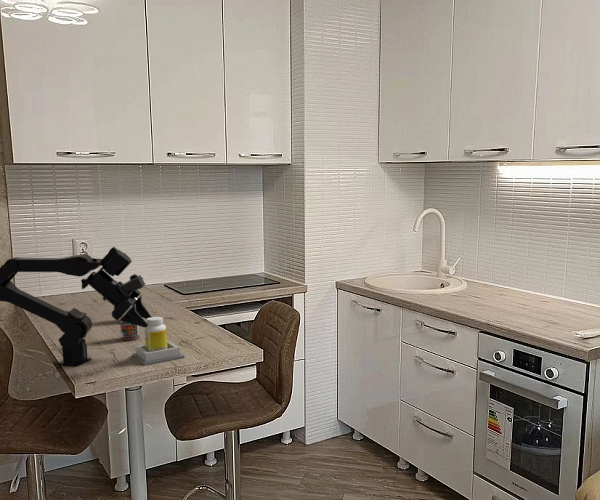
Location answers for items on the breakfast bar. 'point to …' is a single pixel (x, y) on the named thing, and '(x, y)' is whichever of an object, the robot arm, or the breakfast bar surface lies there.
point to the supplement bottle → (129, 331)
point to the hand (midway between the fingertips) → (148, 322)
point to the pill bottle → (155, 335)
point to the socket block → (157, 354)
